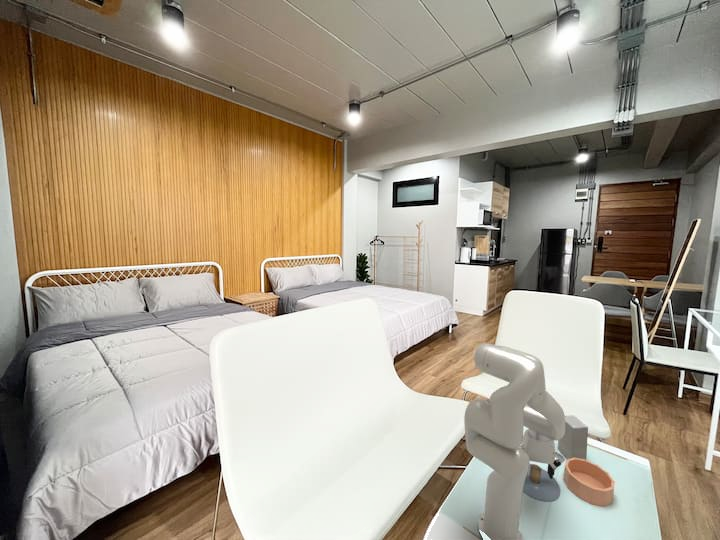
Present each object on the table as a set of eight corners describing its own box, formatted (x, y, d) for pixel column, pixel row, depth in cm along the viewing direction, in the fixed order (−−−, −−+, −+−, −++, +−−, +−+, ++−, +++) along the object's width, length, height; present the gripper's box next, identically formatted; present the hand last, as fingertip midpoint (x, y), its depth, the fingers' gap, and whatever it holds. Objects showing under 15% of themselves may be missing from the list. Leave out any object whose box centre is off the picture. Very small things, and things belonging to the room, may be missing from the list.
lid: (568, 507, 99) (570, 491, 98) (516, 496, 103) (518, 481, 102) (549, 469, 114) (551, 455, 113) (505, 461, 118) (507, 448, 117)
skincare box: (586, 463, 117) (591, 428, 115) (569, 463, 117) (573, 428, 115) (571, 447, 126) (575, 414, 123) (554, 447, 125) (559, 414, 123)
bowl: (621, 510, 98) (624, 494, 97) (574, 500, 101) (576, 485, 100) (598, 476, 111) (600, 462, 110) (557, 468, 115) (559, 455, 114)
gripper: (562, 429, 107) (557, 469, 110) (511, 421, 111) (507, 460, 114) (571, 443, 100) (566, 486, 102) (516, 434, 104) (512, 476, 107)
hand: (535, 473), depth 108 cm, fingers open, 9 cm apart
